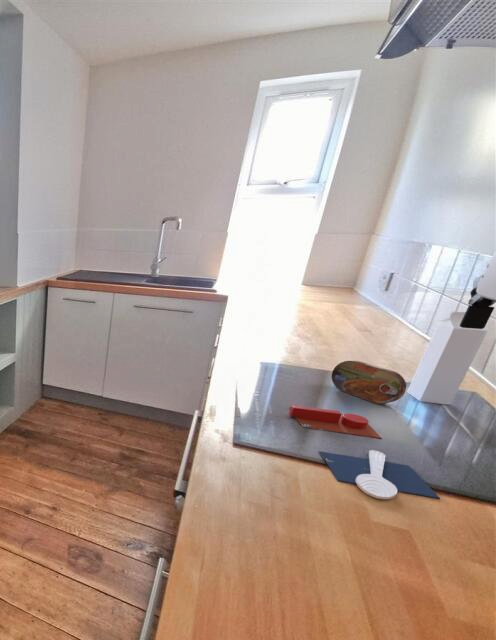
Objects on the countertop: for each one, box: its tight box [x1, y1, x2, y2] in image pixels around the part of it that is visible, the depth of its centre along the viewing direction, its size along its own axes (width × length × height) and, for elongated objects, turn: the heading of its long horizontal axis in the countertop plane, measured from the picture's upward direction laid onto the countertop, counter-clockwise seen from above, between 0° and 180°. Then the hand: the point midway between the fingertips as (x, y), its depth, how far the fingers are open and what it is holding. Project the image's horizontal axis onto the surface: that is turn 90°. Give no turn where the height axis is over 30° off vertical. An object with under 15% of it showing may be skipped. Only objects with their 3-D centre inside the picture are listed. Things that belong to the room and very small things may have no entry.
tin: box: [331, 360, 407, 405], centre depth 103 cm, size 15×3×8 cm, turn 17°
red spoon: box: [288, 404, 370, 429], centre depth 93 cm, size 14×4×2 cm, turn 69°
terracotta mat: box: [289, 406, 382, 440], centre depth 93 cm, size 14×10×1 cm
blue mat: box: [318, 450, 441, 500], centre depth 75 cm, size 14×10×1 cm
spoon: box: [355, 449, 398, 500], centre depth 74 cm, size 5×18×1 cm, turn 138°
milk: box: [406, 311, 489, 406], centre depth 99 cm, size 6×6×22 cm
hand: (489, 335), depth 71 cm, fingers open, 9 cm apart
